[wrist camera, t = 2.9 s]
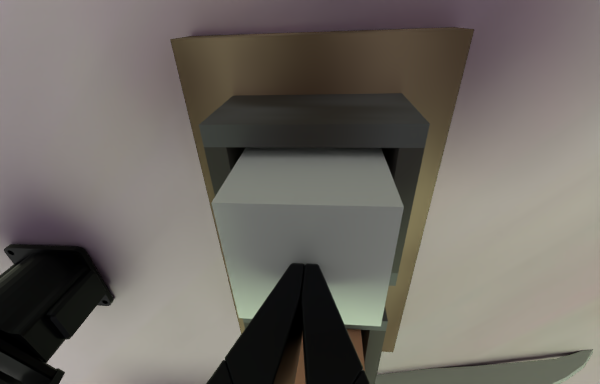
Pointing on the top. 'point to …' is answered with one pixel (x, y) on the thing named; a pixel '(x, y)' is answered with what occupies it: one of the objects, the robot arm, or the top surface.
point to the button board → (332, 117)
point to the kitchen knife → (495, 372)
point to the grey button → (311, 225)
